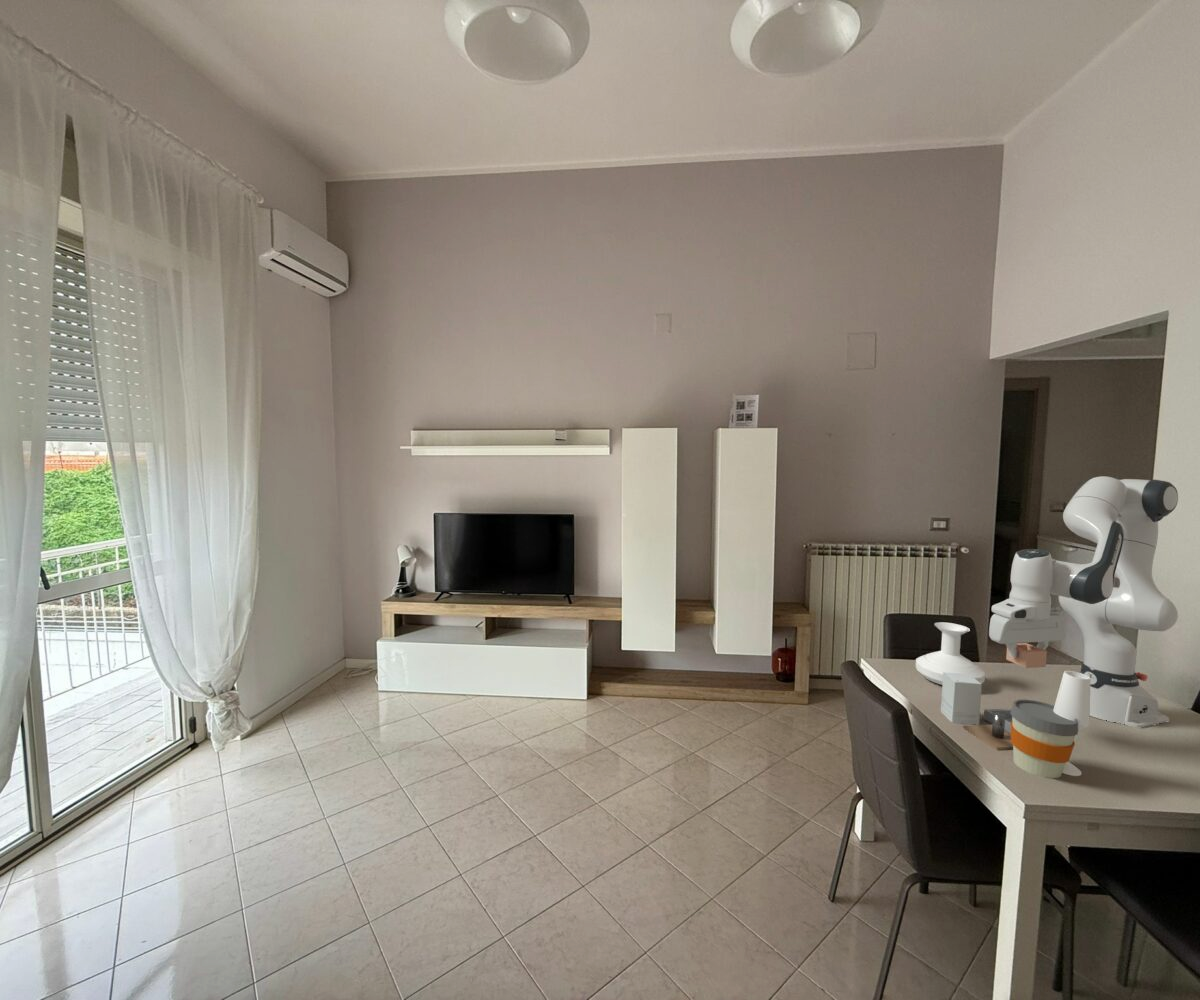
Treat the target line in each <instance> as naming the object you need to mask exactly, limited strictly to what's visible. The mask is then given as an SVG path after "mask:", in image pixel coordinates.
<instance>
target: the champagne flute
mask: <svg viewBox="0 0 1200 1000" xmlns="http://www.w3.org/2000/svg"><path fill="white" fill-rule="evenodd" d="M1056 695H1057V696H1056V699H1055V702H1054V705H1053V706H1054V709H1053V711H1054V713H1056V714H1057V715H1059V716H1061V717H1063V718H1066V719H1069V720H1072V721H1075V719H1077V720H1078V732H1079V731H1082V730H1084V729H1086V728H1087V727H1089V726H1090V723H1091V722H1090V721H1091V718H1090V717H1091V716H1090V677H1089V676H1087V675H1085V674H1082V673H1080V672H1078V671H1072V670H1065V671H1063V673H1062V678H1061V681H1060V685H1059V688H1058V692H1057V694H1056ZM1062 774H1064V775H1069V776H1072V777H1080V776H1081V775H1082V771H1081V769H1079V768H1078V767H1076V766H1075V765H1074V764H1072V763H1071V762H1070V761H1068V762H1066V763H1065V766H1064V769H1063V772H1062Z"/></svg>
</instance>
